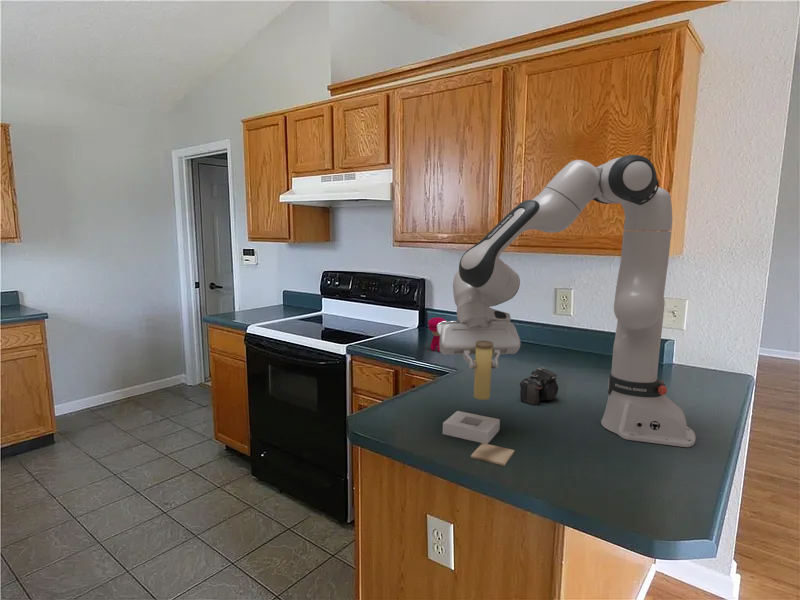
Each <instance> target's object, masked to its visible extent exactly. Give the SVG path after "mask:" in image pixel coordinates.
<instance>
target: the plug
mask: <svg viewBox="0 0 800 600" xmlns="http://www.w3.org/2000/svg"><path fill="white" fill-rule="evenodd" d="M492 349H493V343H492V342H490V341H477V342H476V354H474V355H475V356H474V357H475V359H474V360H476V364H477V367H476V369H474V376H473V377H474V379H473V398H474V399H477V400H480V401H481V400H484V401H486V400H490V398H491V386H492V369H491V367H492V359H493V355H492Z"/></svg>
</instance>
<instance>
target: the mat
mask: <svg viewBox="0 0 800 600" xmlns="http://www.w3.org/2000/svg"><path fill="white" fill-rule="evenodd" d="M514 454H515V450H514V449H511V448H506V447H504V446H503V447H502V446H498V445H493V444H489V443H488V444H485V443H481V444H480V445H478V447H477V448H476V449H475V450H474V451H473V453H471V455H470V458H471V459H475V460H479V461H482V462H483V461H484V462H487V463H491V464H496V465H500V466H503V467H504V466H505V467H506V465H507V463H508V462H509V461H510V459H511V457H512V456H513V455H514Z"/></svg>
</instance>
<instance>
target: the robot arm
mask: <svg viewBox="0 0 800 600" xmlns="http://www.w3.org/2000/svg"><path fill="white" fill-rule="evenodd" d="M657 176H658V175H657V172H656V169H655V165H654V164H653V163H652V161H651V160H650V159H649V158H647V157H645V156H642V155H639V154H627V155H623V156H620V157H615V158H613V159H610V160H608V161H607V162H605V163H602V164H600V165H597V166H595V165H594V164H592V163H590V162H589V161H586V160H583V159H575V160H571V161H570V162H569V163H567V164H566V165H564V167H562V168H561V170H559V171H558V172H557V173H556V174H555V175H554V176H553V177H552V179H550V181H549V182H548V183H547V184H546V186H545V187H544V188H543V190H542V191H540V192H539V193H538V195H536V196H535V197H534V198H532V199H527V200H523V201H522V202H520V203H518V205H516V206H515V207H514V208H513V209H511V210H510V211H509V212H508V213H507V214H506V215H505V216H504V217H503V218H502V219H501V220H500V221H499V222H498V223H497V224H496V225H495V226H494V227H493V228H492V230H490V231H489V232H488V233H487V234H486V235H485V236H484V237H483V238H482V239H480V241H478V242H476V244H474V245H473V246H471V247H470V248H469V249H467V250H466V251H465V252H464V253H463V255H462V256H461V257H460V259H459V260H460V261H459V264H458V270H457V271H456V273H455V274H454V277H453V283H452V291H453V298H454V299H453V300H454V304H455V305H456V317H457V320H450V321H447V320H446V321H442V322H441V323H439V324H438V325H437V333H438V335H439V336H440V343H439V345H440V352H439V353H441V354H442V355H444V356H447V355H448V356H450V355H451V356H452V355H453V356H456V355H457V356H459V355H462V358H463V359H464V361H466V363H467V364H468V368H469V370H475V369H476V367H477V364H476V360H475V359H473V358H472V357H471V356H470V355H476V342H477V341H490V342H492V343H493V349H492V367H491V370H492V369H498V368H499V361H498V359H499V357H500V355H508V354H509V355H514V354H515V355H516V353H518V351H519V349H520V348H521V344H522V343H521V339H520V335H519V334H518V331H517V328H516V326H515V324H514V323H512V322H511V319H512V318H511V315H510V314H511V313H508V312H505V311H501V310H497V309H494V308H492V307H496V306H498V305H501V304H503V303H505V302H508V301H510V300H512V299H513V298H515V297H516V295H517V293H518V291H519V288H520V284H521V279H520V276H519V274H518V273H517V272H516V271H515V270H513V269H512V268H511V267H510V266H509V265H508V264H507V263H505V262H504V261H503V260H502V259H500V255H501V254H502V253H503V252H504V251H505V250H506V249H507V248H508V247H510V245H511V244H512V243H513V242H514V241H515V240H516V239H517V238H518V237H519V236H520V235H521V234H523V233H524V232H526V231H530V230H535V231H540V232H544V233H551V234H552V233H553V234H554V233H559V232H562V231H565V230H567V228H569V227H570V226H571V225H572V224H573V223H574V221H576V220H577V218H578V217H579V215H580V214H581V213H582V212H583V210H584V209H585V208H586V207H587V205H588V204H589V203H590V202H591V201H594V202H597V203H601V204H604V205H611V204H620V205H621V207H622V209H623V213H624V224H623V232H622V241H621V242H622V244H621V254H620V263H619V267H618V268H619V270H618V273H617V279H616V280H617V281H616V287H615V294H614V300H613V301H614V303H613V313H614V315H615V319H617V321H616V328H615V337H614V341H613V347H612V348H613V349H612V360H611V372H610V373H609V377H608V381H607V382H608V383H607V394H608V398H607V401H606V406H605V410H604V413H603V415H602V418H601V420H600V423H601V425H602V427H604V428H605V429H607V430H608V431H610V432H612V433H614V434H617V435H618V436H619V437H620V438H622V439H624V440H627V441H635V442H643V443H652V444H658V445H666V446H667V445H668V446H674V447H682V448H690V447H693V446H694V445H695V444H696V433H695V432H694V430H693V429H692V428H691V427H690V426H688V425H687V419H686V416H685V413H684V411H683V409H682V408H681V407H679V406H678V405H677V404H676V403H674V402H673V401H672V399H670V398H669V397H667V396H666V394H667V392H668V388H667V386H666V384H665V383H664V380H660V379H658V373H659V371H658V369H659V359H660V351H661V349H660V348H661V340H662V333H663V332H662V331H663V323H664V314H665V313H664V312H665V303H666V301H665V297H664V296H665V291H666V281H667V273H668V265H669V261H670V259H669V257H670V251H671V250H670V249H671V248H670V247H671V241H672V240H671V239H672V228H673V206H672V204H673V203H672V196H671V194H670V193H669V192H668V190H666V189H664V188H663V187H660V183H659V180H658V178H657ZM493 358H494V359H493Z"/></svg>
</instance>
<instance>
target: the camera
mask: <svg viewBox="0 0 800 600" xmlns="http://www.w3.org/2000/svg"><path fill="white" fill-rule="evenodd" d="M557 378H558V375H557V374H556V373H554V372H553V371H551V370H549V369H547V368H545V367H543V366H541V367H537V368H536V370H533V371H531V375H530V376H528V377H525V378H523V379H522V380H521V381H520V383H519V386H520V391H519V392H520V394H519V395H520V400H521V401H522V402H523V403H525V404H527V405H530V404H531V405H532V406H538V405H539V403H540V402H543V401H551V400H554V399H555V398H556V396H558V392H559V385H558V383H557Z"/></svg>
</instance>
